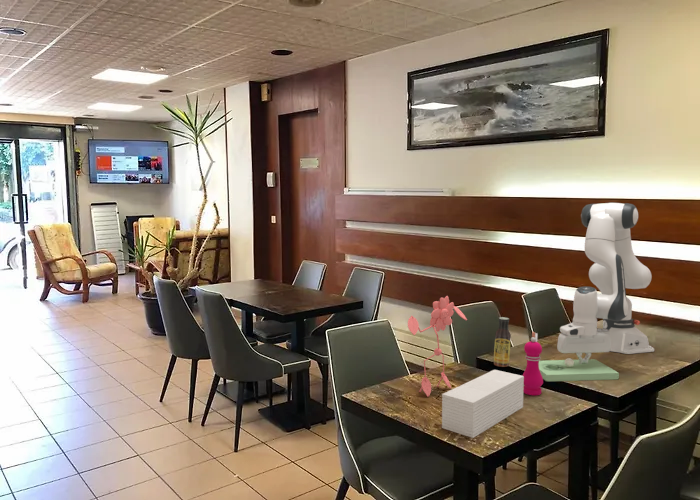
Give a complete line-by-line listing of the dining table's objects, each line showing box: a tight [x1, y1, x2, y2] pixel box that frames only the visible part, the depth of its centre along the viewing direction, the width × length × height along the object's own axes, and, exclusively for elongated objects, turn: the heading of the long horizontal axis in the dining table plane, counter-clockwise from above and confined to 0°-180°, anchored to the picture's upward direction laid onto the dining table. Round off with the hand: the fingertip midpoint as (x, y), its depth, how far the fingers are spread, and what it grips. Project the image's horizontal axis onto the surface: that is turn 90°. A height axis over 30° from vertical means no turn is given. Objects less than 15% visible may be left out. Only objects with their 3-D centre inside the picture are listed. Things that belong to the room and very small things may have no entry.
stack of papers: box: [441, 369, 525, 439], centre depth 177 cm, size 32×11×11 cm, turn 137°
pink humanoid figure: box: [406, 295, 468, 398], centre depth 196 cm, size 15×26×35 cm, turn 128°
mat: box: [531, 331, 620, 382], centre depth 221 cm, size 28×20×14 cm
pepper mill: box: [522, 336, 544, 396], centre depth 198 cm, size 7×7×20 cm
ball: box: [564, 357, 574, 367], centre depth 220 cm, size 4×4×4 cm
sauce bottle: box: [493, 316, 512, 368], centre depth 230 cm, size 6×6×20 cm
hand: (583, 363), depth 221 cm, fingers closed
